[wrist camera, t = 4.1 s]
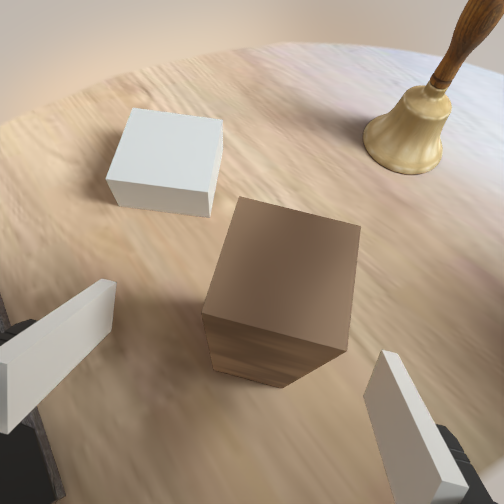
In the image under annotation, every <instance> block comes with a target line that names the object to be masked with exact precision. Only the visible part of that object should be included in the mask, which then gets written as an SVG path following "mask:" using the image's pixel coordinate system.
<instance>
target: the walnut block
mask: <svg viewBox="0 0 504 504" xmlns="http://www.w3.org/2000/svg"><path fill="white" fill-rule="evenodd" d="M360 229H361V226H358V225H354V224H350V223H346V222H342V221H337V220H333V219H329V218H325V217H321V216H317V215H313V214H309V213H305V212H301V211H297V210H293V209H289V208H285V207H281V206H277V205H273V204H268V203H264V202H260V201H256V200H252V199H248V198H244V197H240V196H239V199H238V202H237V205H236V208H235V211H234V214H233V217H232V220H231V223H230V226H229V229H228V232H227V235H226V238H225V241H224V244H223V248H222V251H221V254H220V257H219V260H218V263H217V266H216V269H215V272H214V275H213V278H212V281H211V284H210V287H209V290H208V293H207V296H206V299H205V302H204V306H203V309H202V312H201V314H202V319H203V323H204V328H205V333H206V337H207V342H208V347H209V351H210V356H211V360H212V365H213V370H216V371H220V372H223V373H227V374H231V375H234V376H238V377H242V378H245V379H249V380H253V381H256V382H260V383H264V384H267V385H271V386H275V387H278V388H284V387H286V386H287V385H289V384H291V383H293V382H294V381H296V380H298V379H299V378H301V377H303V376H305V375H306V374H308V373H310V372H312V371H313V370H315V369H317V368H319V367H320V366H322V365H324V364H325V363H327V362H329V361H331V360H332V359H334V358H336V357H338V356H339V355H341V354H343V353H344V352H346V351H347V346H348V337H349V328H350V319H351V310H352V301H353V292H354V283H355V274H356V265H357V256H358V247H359V238H360Z"/></svg>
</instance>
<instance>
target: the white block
mask: <svg viewBox="0 0 504 504" xmlns="http://www.w3.org/2000/svg"><path fill="white" fill-rule="evenodd" d="M222 152H223V120H220V119H213V118H206V117H198V116H191V115H183V114H176V113H169V112H161V111H154V110H146V109H139V108H133V109H132V111H131V114H130V116H129V119H128V122H127V124H126V127H125V129H124V132H123V134H122V137H121V140H120V142H119V145H118V147H117V150H116V153H115V155H114V158H113V160H112V163H111V166H110V168H109V171H108V173H107V176H106V181H107V183H108V185H109V187H110V189H111V191H112V193H113V195H114V197H115V199H116V201H117V203H118V205H119V206H121V207H129V208H137V209H145V210H152V211H160V212H168V213H176V214H184V215H191V216H199V217H207V218H210V214H211V209H212V204H213V199H214V194H215V188H216V183H217V178H218V173H219V168H220V163H221V157H222Z"/></svg>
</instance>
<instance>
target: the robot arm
mask: <svg viewBox="0 0 504 504" xmlns="http://www.w3.org/2000/svg"><path fill="white" fill-rule="evenodd" d="M116 284H117V282H114V281H110V280H106V279H100V280H99V281H97V282H96V283H94V284H93V285H91V286H90V287H88V288H87V289H85V290H84V291H82V292H81V293H79V294H78V295H76V296H75V297H73V298H72V299H70V300H69V301H67V302H66V303H64V304H63V305H61V306H60V307H58V308H57V309H55V310H54V311H52V312H51V313H49V314H48V315H46V316H45V317H43V318H42V319H40V320H39V321H36V320H32V319H29V320H26V321H23V322H20V323H17V324H15V325H13V326H12V327H10V328H9V329H7V330H5V331H4V333H1V334H0V433H4V434H9V433H10V432H11V431H12V430H13V429H14V428H15V427H16V426H17V425H18V424H19V423H20V422H21V421H22V420H23V419H24V418H25V417H26V416H27V415H28V414H29V413H30V412H31V411H32V410H33V409H34V408H35V407H36V406H37V405H38V404H39V403H40V402H41V401H42V400H43V399H44V398H45V397H46V396H47V395H48V394H49V393H50V392H51V391H52V390H53V389H54V388H55V387H56V386H57V385H58V384H59V383H60V382H61V381H62V380H63V379H64V378H65V377H66V376H67V375H68V374H69V373H70V372H71V371H72V370H73V369H74V368H75V367H76V366H77V365H78V364H79V363H80V362H81V361H82V360H83V359H84V358H85V357H86V356H87V355H88V354H89V353H90V352H91V351H92V350H93V349H94V348H95V347H96V346H97V345H98V344H99V343H100V342H101V341H102V340H103V339H104V338H105V337H106V336H107V335H108V334H109V333H110V332H111V331H112V322H113V312H114V303H115V293H116ZM363 397H364V400H365V404H366V407H367V410H368V414H369V417H370V420H371V424H372V427H373V431H374V434H375V437H376V441H377V444H378V447H379V451H380V454H381V457H382V461H383V464H384V467H385V471H386V474H387V477H388V481H389V484H390V487H391V491H392V494H393V497H394V501H395V504H498V503H496V502H493V500H492V499H491V497H490V495H489V494H488V492H487V490H486V488H485V487H484V485H483V483H482V481H481V480H480V478H479V476H478V474H477V473H476V471H475V469H474V468H473V466H472V465H471V464H470V461H469V459H468V457H467V456H466V454H464V450H463V449H462V447H461V445H460V443H459V442H458V440H457V438H456V437H455V436H454V435H453V434H452V433H451V432H450V431H449V430H448V429H447V428H446V427H445V426H442V425H438V424H435V423H434V421H433V419H432V417H431V415H430V413H429V411H428V410H427V408H426V406H425V404H424V402H423V400H422V398H421V396H420V395H419V393H418V391H417V389H416V387H415V385H414V383H413V381H412V380H411V378H410V376H409V374H408V372H407V370H406V368H405V366H404V365H403V363H402V361H401V359H400V357H399V355H398V353H394V352H390V351H386V350H381V352H380V355H379V357H378V360H377V362H376V365H375V368H374V370H373V373H372V375H371V378H370V380H369V383H368V385H367V388H366V390H365V393H364V395H363Z"/></svg>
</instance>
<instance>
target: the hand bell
mask: <svg viewBox="0 0 504 504" xmlns="http://www.w3.org/2000/svg"><path fill="white" fill-rule="evenodd" d="M503 14H504V0H469V1H468V3H467V4H466V6H465V8H464V10H463V12H462V13H461V15H460V18H459V20H458V22H457V25H456V27H455V30H454V33H453V37H452V41H451V44H450V46H449V49H448V51H447V53H446V54H445V56H444V58H443V59H442V61H441V62H440V64H439V65H438V67H437V69H436V70H435V72H434V73H433V75H432V76H431V78H430V81H429V82H428V83H427V85H426V86H414V87H412V88H410V89H408V90H407V91H406V92H405V93H404V95H403V96H402V98H401V99H400V100H399V102H398V103H397V104H396V106H395V107H394V108H393V109H392V110H391V111H390V112H389V113H387V114H384V115H381V116H378V117H376V118H375V119H373V120H372V121H371V122H369V123H368V125H367V126H366V127H365V130H364V133H363V142H364V145H365V148H366V150H367V151H368V153H369V154H370V155H371V156H372V158H373V159H374V160H375V161H377V162H378V163H379V164H381V165H382V166H384V167H386V168H388V169H390V170H392V171H395V172H398V173H402V174H421V173H425V172H428V171H430V170H432V169H433V168H435V167H436V166H437V165H438V164H439V162H440V160H441V158H442V143H441V140H440V134H441V131H442V128H443V126H444V124H445V122H446V120H447V118H448V116H449V115H450V113H451V109H452V106H451V102H450V100H449V98H448V97H447V96H446V95H445V94H444V93H445V92H446V90H447V88H448V87H449V86H450V84H451V82H452V80H453V79H454V77H455V75H456V74H457V72H458V70H459V68H460V67H461V65H462V63H463V62H464V60H465V59H466V57H467V56H468V55H469V54H470V53H471V52H472V51H473V50H474V49H475V48H476V47H477V46H478V45H479V44H480V43H481V42H482V41H483V40H484V39H485V38H486V37H487V36H488V35H489V34H490V32H491V31H492V30H493V29H494V27H495V26H496V25H497V23H498V22H499V20H500V19H501V17H502V16H503Z"/></svg>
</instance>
